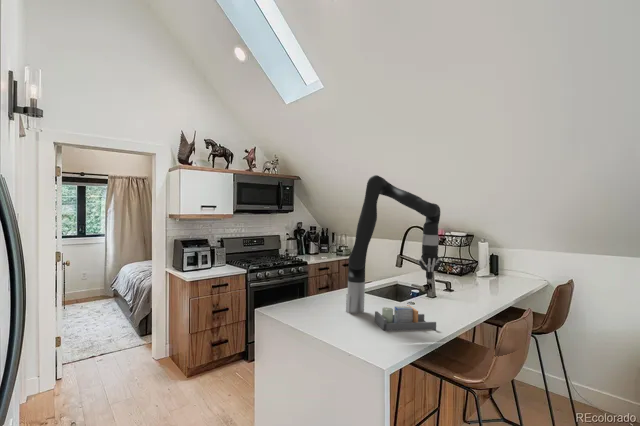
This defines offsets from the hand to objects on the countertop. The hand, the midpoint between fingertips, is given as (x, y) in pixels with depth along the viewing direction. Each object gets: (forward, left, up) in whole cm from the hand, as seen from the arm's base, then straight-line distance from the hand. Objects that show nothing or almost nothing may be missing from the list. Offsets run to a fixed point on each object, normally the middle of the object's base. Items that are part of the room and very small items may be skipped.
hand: (429, 279), depth 160 cm
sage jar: (-21, 0, -22) cm, 30 cm away
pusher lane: (-12, 0, -23) cm, 26 cm away
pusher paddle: (-8, 0, -22) cm, 24 cm away
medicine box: (-13, 0, -22) cm, 26 cm away
